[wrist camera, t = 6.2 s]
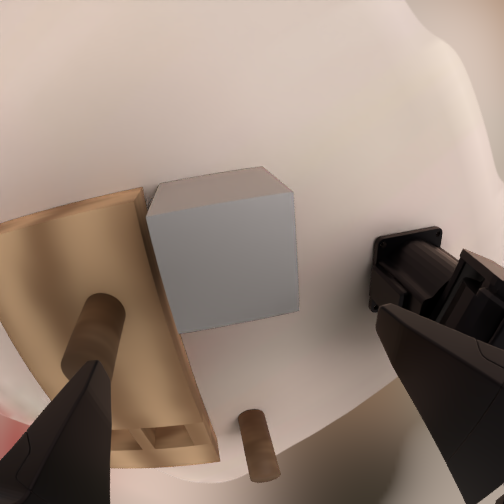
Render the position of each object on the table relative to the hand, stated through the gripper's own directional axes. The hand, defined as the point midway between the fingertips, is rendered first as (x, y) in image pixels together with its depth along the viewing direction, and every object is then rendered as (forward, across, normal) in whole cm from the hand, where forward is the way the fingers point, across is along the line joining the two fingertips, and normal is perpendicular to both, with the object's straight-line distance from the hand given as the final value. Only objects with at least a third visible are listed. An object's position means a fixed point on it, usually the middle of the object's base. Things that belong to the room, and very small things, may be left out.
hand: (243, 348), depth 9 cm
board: (+11, +10, +10) cm, 18 cm away
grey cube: (+11, 0, 0) cm, 11 cm away
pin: (+11, 0, +20) cm, 23 cm away
